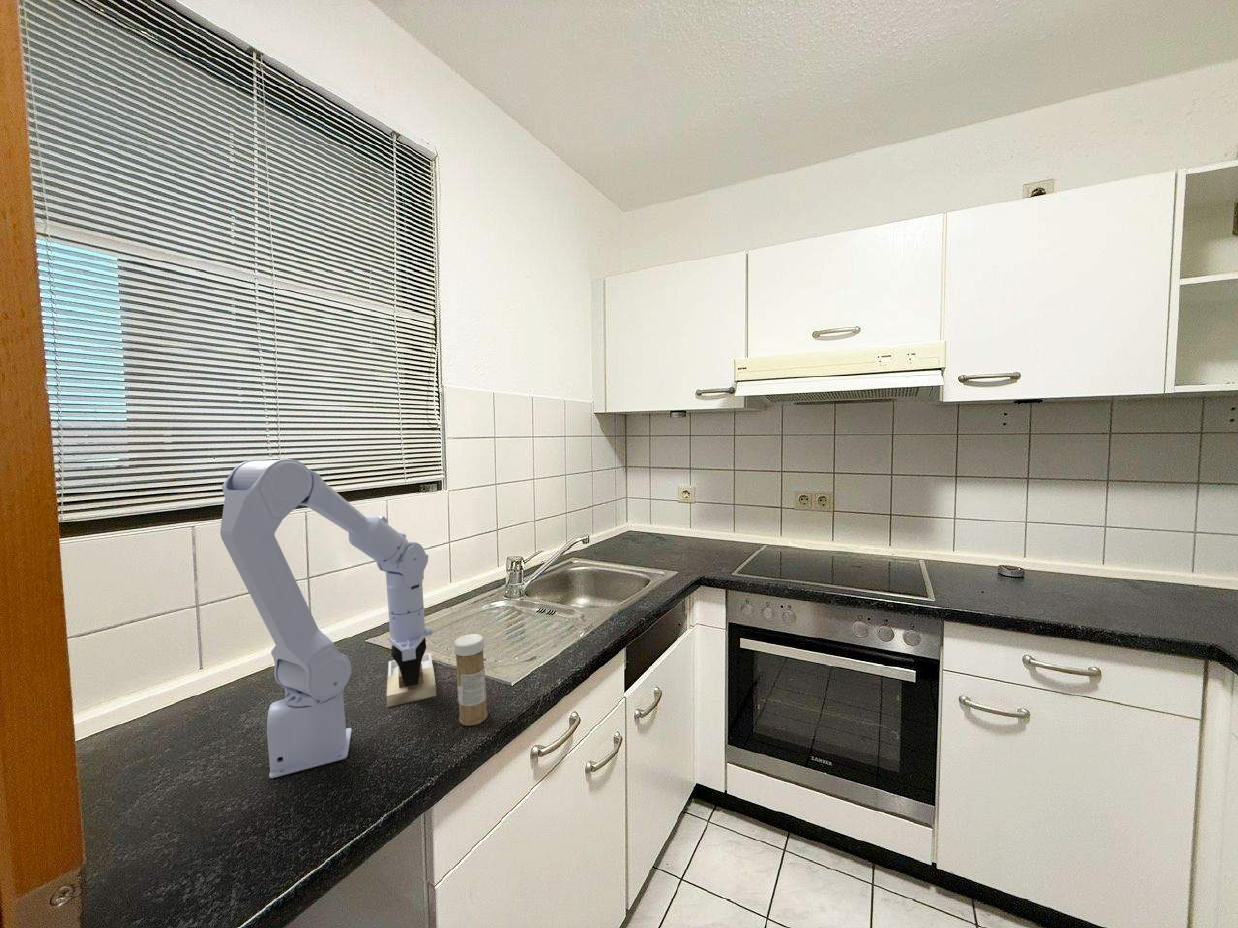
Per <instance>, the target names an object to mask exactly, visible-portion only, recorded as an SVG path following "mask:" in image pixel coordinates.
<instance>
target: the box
mask: <svg viewBox="0 0 1238 928" xmlns="http://www.w3.org/2000/svg"><path fill="white" fill-rule="evenodd" d="M421 663H422V669H425V668H429V667H433V668H434V665H433V659H432V654H431V652H429V653H424V655H423V658H422V661H421ZM387 665H388V667H387V668H388V669H387V677H388V676H392V675H396V674H398V673H399V666H398V664H397V662H396V661H395V660H394V659H393V660H388V664H387Z"/></svg>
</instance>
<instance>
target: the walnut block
mask: <svg viewBox="0 0 1238 928" xmlns="http://www.w3.org/2000/svg"><path fill="white" fill-rule="evenodd" d="M398 677H399V688H402V687H405V685H404V682H403V679H402V675H401V672H400V669H399V673H398ZM420 683H423V671H422V663H421V665H420V674H419V681H418V684H420Z"/></svg>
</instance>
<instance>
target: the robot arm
mask: <svg viewBox="0 0 1238 928" xmlns="http://www.w3.org/2000/svg"><path fill="white" fill-rule="evenodd" d="M221 488H222V489H221V490H222V491H223V495H224V501H223V507H222V508H223V509H222V510H223V511H222V517H221V523H220V524H221V525H220V531H219V532H220V533H219V535H220V537H221V540H222V542H223V545H224V546H225V549H226V550H227V552H228V554H229V556H230V558H231V560H232V562H233V564H234V566H235V568H236V570H237V572H238V573H239V576H240V578H241V579H242V582H243V583H244V585H245V588H246V589H247V591H248V593H249V595H250V597H251V599H252V601H253V603H254V605H255V607H256V608H257V611H258V613H259V615H260V617H261V618H262V620H263V621H262V622H264V624H265V627H266V628H267V630H268V633H269V634H270V636H271V638H272V640H273V642H274V644H275V646H274V647H273V648H272V650H271V652H270V655H271V656H272V658H273V661H274V662H273V663H274V670H273V677H274V679H275V681H276V683H277V684H278V685H280V686H281V687H284V697H285V698H283V699H282V698H281V699H280V700H276V701H273V702H271V703H270V706H269V708H268V711H267V719H266V720H267V721H266V737H267V751H268V759H269V771H270V772H269V774H268V777H269V779H274V778H279V777H282V776H285V775H289V774H293V773H297V772H300V771H305V770H308V769H312V768H315V767H316V768H317V767H321V766H324V765H326V764H327V765H328V764H331V763H334V762H337V761H343V760H346V758H348V755H349V751H350V750H349V749H350V743H351V738H352V731H353V729H352V727H347V728H346V715H345V714H346V713H345V702H344V692H345V687H346V686H347V684H348V682H349V681H350V678H351V675H352V663H351V660H350V659H349V657H348V656H347V655H346V654H343V653H342V652H340V651H339V650H338V649H337V647H336V646H335V643H334V642H333V640H331V639H330V637H328V636H327V635H325V634H324V632H323V631H321V630H320V629H319V627H318V625H317V622H316V620H315V618H314V617H313V615H312V613H311V610H310V607H309V606H308V604H307V602H306V599H305V597H304V595H303V593H302V591H301V589H300V587H299V585H298V582H297V580H296V578H295V576H294V574H293V572H292V570H291V569H292V568H291V567H290V565H289V563H288V561H287V559H286V557H285V555H284V553H283V551H282V548H281V546H280V544H279V542H278V540H277V538H276V536H275V534H276V532H277V530H278V528H279V527H280V525H281V523H282V522H283V520H284V519H286V517H288V515H290V514H291V513H292V512H293V511H294V510H295V509H296V508H297V507H298V506H303V507H304V506H305V507H307V508H309V509H310V510H312V511H314V512H315V513H317V514H319V515H320V516H322V517H324V518H325V519H326V520H328V521H329V522H331V523H333V524H334V525H336V526H338V527H339V528H341V529H343V530H344V531H346V532H347V533H348V541H349V543H350V544H351V545H352V546H353V547H354V548H356V549H358V550H360V552H362V553H363V554H365V555H366V556H368V557H369V558H371V559H372V560H374V562H376V566H377V568H378V569H379V571H382V572H384V573H385V579H386V581H385V583H386V595H387V607H388V608H387V609H388V623H389V636H388V641H389V643H390V644H391V650H390V653H391V657H392V659H393V660H395V661H396V662H397V664H398V666H399V669H400V672H401V675H402V679H403V682H404V685H405V687H408V686H412V685H417V684H418V681H419V674H420V665H421V661H422V658H423V655H424V654H426V653H425V652H426V650H427V643H426V642H427V641H426V637H427V636H431V635H433V627H426V619H425V609H424V608H425V605H424V604H425V603H424V592H423V590H424V588H423V581H424V579H425V577H424V576H425V574H424V573H425V570H426V567H427V566H428V562H429V554H427V553H426V551H425V549H424V547H423V546H422V545H421V544H420V543H418V542H415V541H408V539H407V535H406V534H405V533H404V532H398V531H397V530H396V529H395V528H393V527H392V526H391V525H389V524H388V521H389V519H388V518H386V517H385V516H383V515H375V514H370V515H369V514H368V515H364V514H363V513H361V512H360V511H359V510H358V509H357V508H355V506H353V505H352V504H351V503H350V502H349V501H348V500H346V499H345V498H344V497H343V496H341V495H340V494H339V493H338V492H337V491H336V490H334V489H333V487H331V486H330V485H329V484H328V483H326V481H324V479H323V478H322V477H321V475H320V474H319V473H317V472H315V471H314V470H312V469H309V467H307V466H306V465H305V464H304V463H302V462H301V461H300V460H296V459H295V458H294V459H292V458H282V459H277V460H275V459H273V460H272V459H271V460H269V459H267V460H262V459H250V460H246V461H243V462H240V463H239V464H238V465H236V466H235V467H234V468H233V469H232V471H231V472H230V473H229V475H228V476H227V478H226V479H225V481H224V482H223V484H221Z"/></svg>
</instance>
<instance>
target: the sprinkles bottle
mask: <svg viewBox="0 0 1238 928" xmlns="http://www.w3.org/2000/svg"><path fill="white" fill-rule="evenodd" d="M484 640H485V639H484V637H483V636H482V635H481V634H478V633H471V634H466V635H465V634H464V635H461V636H459V637H458V638H456V639H455V640H454V643H453V646H454V648H453V649H454V654H455V656H456V657H455V660H456V683H457V684H456V685H457V687H456V688H457V701H458V702H457V703H458V709H459V710H458V712H459V716H458V718H459V719H458V721H459V723H460V724H461V725H463V726H468V727H469V726H476V725H479V724H481V723H483V722H484V721H485V720H486V719H487V718H488V711H487V700H486V699H487V687H486V670H485V668H486V667H485V663H484V661H485V660H484V659H485V658H484V648H485V644H484Z"/></svg>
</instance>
